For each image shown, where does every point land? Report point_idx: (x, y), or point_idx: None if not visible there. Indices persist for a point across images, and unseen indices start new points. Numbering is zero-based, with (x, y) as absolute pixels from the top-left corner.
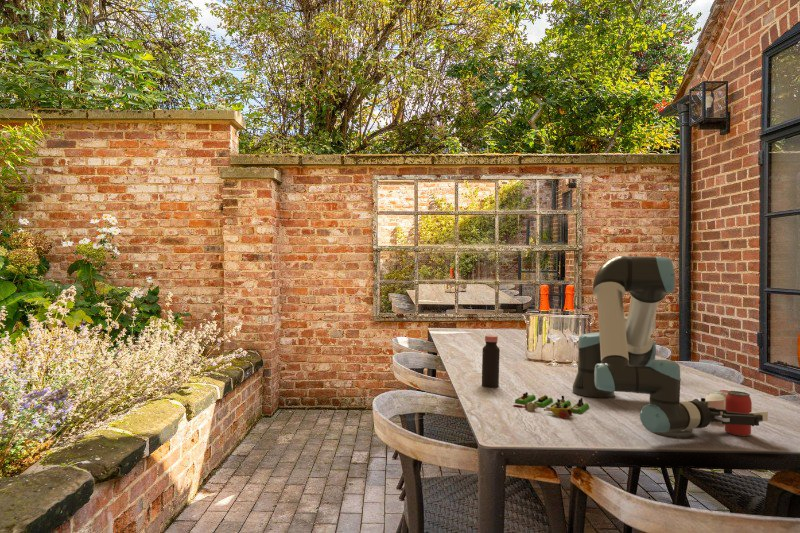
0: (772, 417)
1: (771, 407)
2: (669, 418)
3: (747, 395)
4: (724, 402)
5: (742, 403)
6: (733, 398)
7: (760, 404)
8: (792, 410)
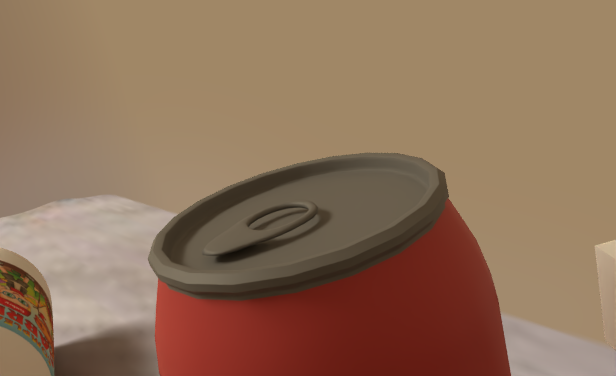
0: None
1: (99, 235)
2: None
3: (437, 168)
4: (7, 362)
5: (492, 323)
6: (376, 335)
7: (56, 246)
8: (157, 210)
